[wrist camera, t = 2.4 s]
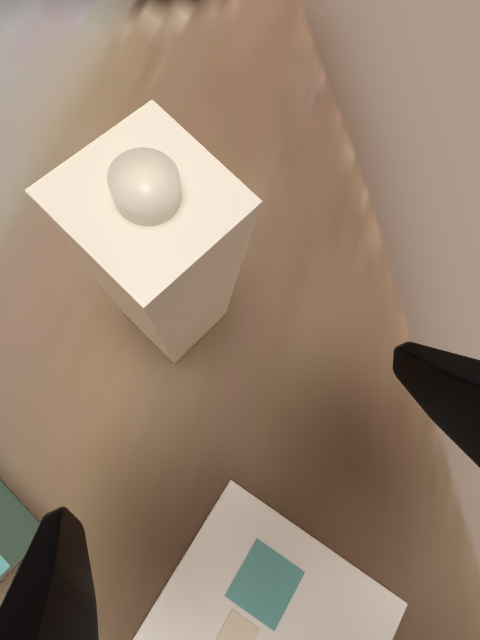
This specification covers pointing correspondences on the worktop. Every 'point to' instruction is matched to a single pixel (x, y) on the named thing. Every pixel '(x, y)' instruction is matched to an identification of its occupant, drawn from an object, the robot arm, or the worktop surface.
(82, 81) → the worktop surface
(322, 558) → the page
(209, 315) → the tall brick
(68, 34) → the worktop surface
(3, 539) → the base brick
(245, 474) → the worktop surface
